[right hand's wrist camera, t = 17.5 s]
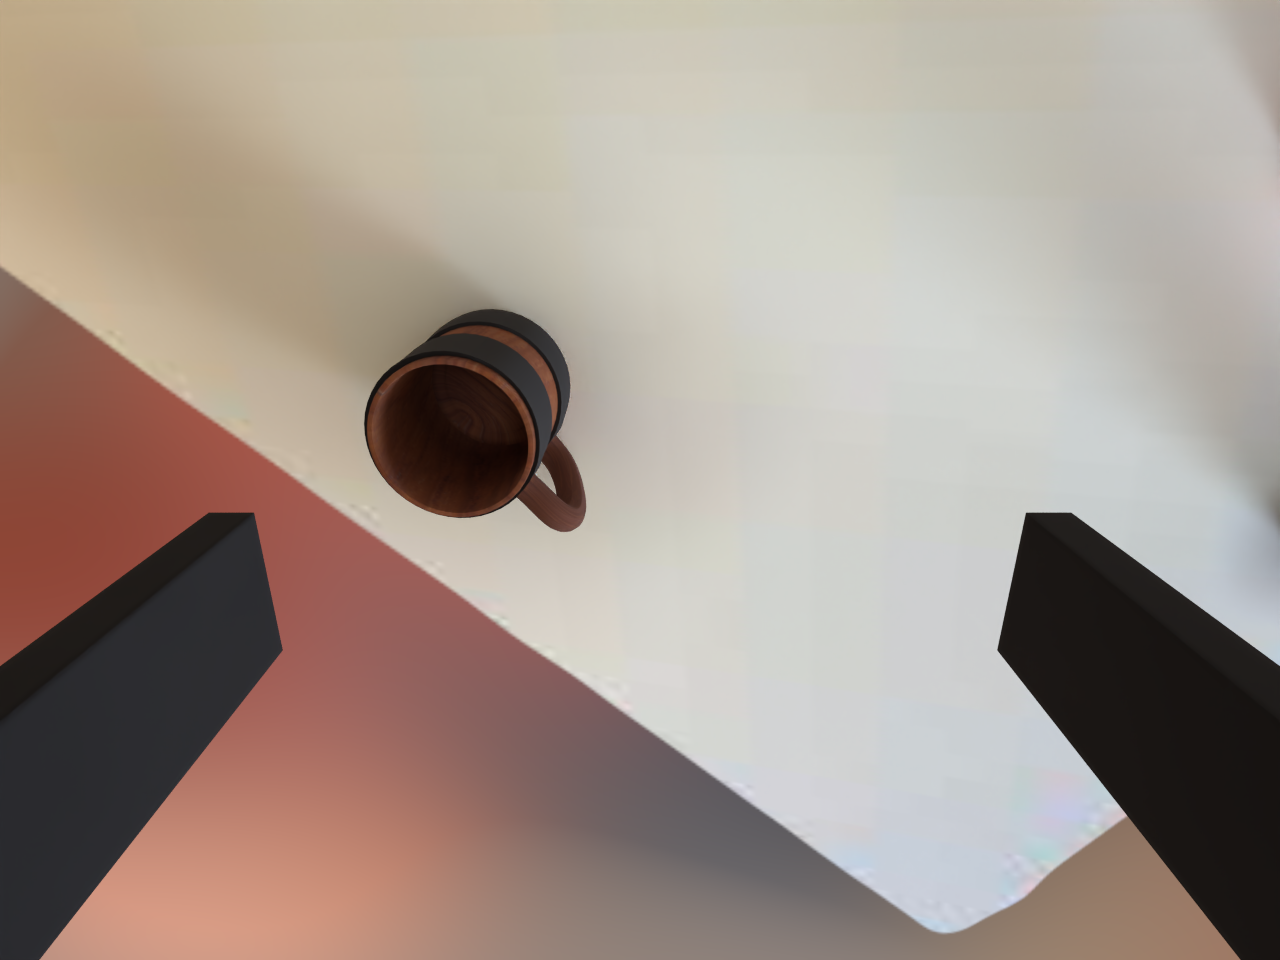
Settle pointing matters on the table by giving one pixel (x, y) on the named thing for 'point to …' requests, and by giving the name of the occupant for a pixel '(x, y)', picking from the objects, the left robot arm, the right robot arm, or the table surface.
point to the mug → (478, 422)
